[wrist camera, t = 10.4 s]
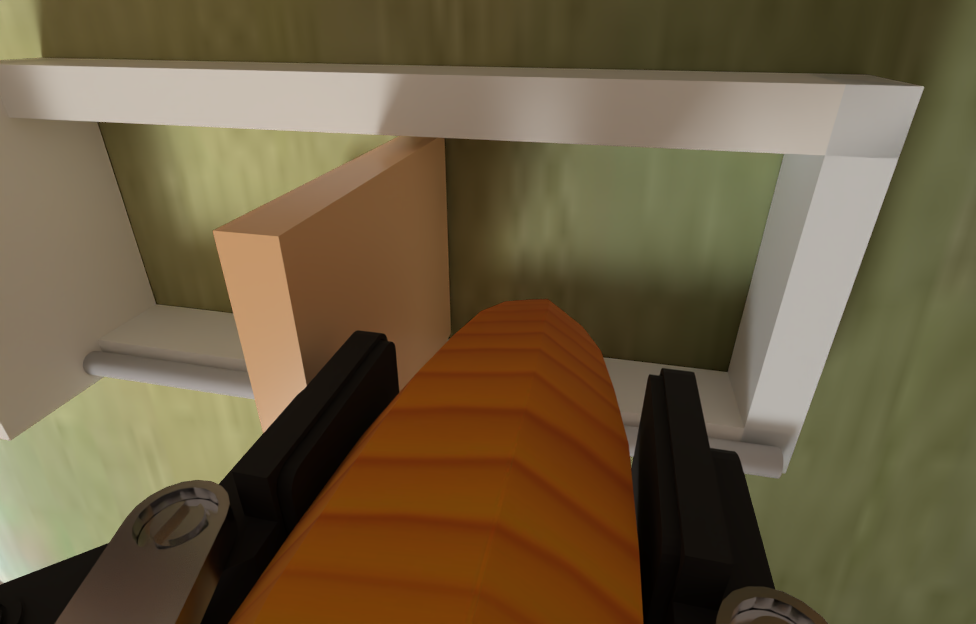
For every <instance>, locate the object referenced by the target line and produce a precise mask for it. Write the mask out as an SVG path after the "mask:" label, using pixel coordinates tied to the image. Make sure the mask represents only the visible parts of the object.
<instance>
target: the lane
mask: <svg viewBox="0 0 976 624" xmlns="http://www.w3.org/2000/svg"><path fill="white" fill-rule="evenodd" d="M923 89H924V86H920V85H915V84H911V83H906V82H901V81H896V80H891V79H887V78H882V77H877V76H872V75H861V74H812V73H763V72H714V71H666V70H617V69H568V68H520V67H471V66H422V65H373V64H325V63H276V62H227V61H178V60H130V59H81V58H27V59H10V60H0V439H4V440H10V441H11V440H12V439H14V438H15V437H16V436H18V435H19V434H21V433H22V432H24V431H25V430H27V429H28V428H30V427H31V426H33V425H34V424H36V423H37V422H38V421H40V420H41V419H43V418H44V417H46V416H47V415H49V414H50V413H52V412H53V411H55V410H56V409H57V408H59V407H60V406H62V405H63V404H65V403H66V402H68V401H69V400H71V399H72V398H74V397H75V396H77V395H78V394H79V393H81V392H82V391H84V390H85V389H87V388H88V387H90V386H91V385H93V384H94V383H96V382H97V381H99V380H100V379H101V378H103V377H110V378H117V379H123V380H130V381H136V382H143V383H150V384H156V385H163V386H170V387H176V388H183V389H189V390H196V391H203V392H209V393H216V394H222V395H229V396H236V397H242V398H249V399H255V398H254V394H253V390H252V386H251V382H250V378H249V374H248V370H247V366H246V362H245V358H244V354H243V350H242V346H241V342H240V338H239V334H238V330H237V326H236V322H235V318H234V314H233V313H226V312H218V311H210V310H201V309H193V308H184V307H176V306H167V305H159V304H156V302H155V299H154V296H153V293H152V290H151V286H150V283H149V280H148V277H147V274H146V271H145V268H144V265H143V262H142V259H141V256H140V253H139V249H138V246H137V243H136V240H135V237H134V234H133V231H132V228H131V225H130V222H129V219H128V215H127V212H126V209H125V206H124V203H123V200H122V197H121V194H120V191H119V188H118V185H117V182H116V178H115V175H114V172H113V169H112V166H111V163H110V160H109V157H108V154H107V151H106V148H105V144H104V141H103V138H102V135H101V132H100V129H99V126H98V123H97V122H115V123H136V124H158V125H180V126H201V127H223V128H244V129H266V130H287V131H309V132H330V133H352V134H373V135H395V136H416V137H438V138H459V139H481V140H502V141H524V142H545V143H567V144H588V145H610V146H631V147H653V148H674V149H696V150H717V151H739V152H760V153H782V154H784V157H783V160H782V164H781V168H780V172H779V176H778V180H777V184H776V187H775V191H774V195H773V199H772V203H771V207H770V211H769V214H768V218H767V222H766V226H765V230H764V234H763V238H762V241H761V245H760V249H759V253H758V257H757V261H756V264H755V268H754V272H753V276H752V280H751V284H750V288H749V291H748V295H747V299H746V303H745V307H744V311H743V315H742V318H741V322H740V326H739V330H738V334H737V338H736V342H735V345H734V349H733V353H732V357H731V361H730V365H729V369H728V372H722V371H714V370H706V369H697V368H689V367H680V366H672V365H664V364H655V363H647V362H638V361H630V360H622V359H613V358H605V357H603V358H604V361H605V364H606V367H607V370H608V373H609V376H610V379H611V381H612V384H613V387H614V390H615V394H616V398H617V402H618V405H619V409H620V413H621V417H622V421H623V424H624V428H625V432H626V436H627V440H628V443H629V452H630V456H632V457H634V452H635V446H636V441H637V435H638V429H639V424H640V418H641V413H642V407H643V402H644V396H645V391H646V385H647V380H648V376H649V374H652V375H660V371H661V369H662V368H667V369H675V370H683V371H691V372H694V373H695V376H696V381H697V386H698V391H699V396H700V401H701V406H702V411H703V415H704V420H705V425H706V430H707V435H708V440H709V445H710V448H715V449H722V450H728V451H735V452H736V453H737V454H738V456H739V458H740V461H741V464H742V468H743V472H744V474H751V475H758V476H764V477H771V478H780V476H781V474H782V473H786V470H787V467H788V465H789V462H790V459H791V456H792V453H793V451H794V448H795V445H796V442H797V439H798V437H799V434H800V431H801V428H802V426H803V423H804V420H805V417H806V414H807V412H808V409H809V406H810V403H811V401H812V398H813V395H814V392H815V389H816V387H817V384H818V381H819V378H820V376H821V373H822V370H823V367H824V364H825V362H826V359H827V356H828V353H829V350H830V348H831V345H832V342H833V339H834V337H835V334H836V331H837V328H838V325H839V323H840V320H841V317H842V314H843V312H844V309H845V306H846V303H847V300H848V298H849V295H850V292H851V289H852V287H853V284H854V281H855V278H856V275H857V273H858V270H859V267H860V264H861V261H862V259H863V256H864V253H865V250H866V248H867V245H868V242H869V239H870V236H871V234H872V231H873V228H874V225H875V223H876V220H877V217H878V214H879V211H880V209H881V206H882V203H883V200H884V198H885V195H886V192H887V189H888V186H889V184H890V181H891V178H892V175H893V172H894V170H895V167H896V164H897V161H898V159H899V156H900V153H901V150H902V147H903V145H904V142H905V139H906V136H907V134H908V131H909V128H910V125H911V122H912V120H913V117H914V114H915V111H916V108H917V106H918V103H919V100H920V97H921V95H922V92H923ZM448 340H449V339H447V341H448ZM447 341H446V342H447Z"/></svg>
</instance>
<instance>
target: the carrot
mask: <svg viewBox="0 0 976 624" xmlns="http://www.w3.org/2000/svg"><path fill="white" fill-rule="evenodd" d="M228 624H643V608H642V592H641V575H640V559H639V546H638V535H637V525H636V514H635V504H634V493H633V483H632V472H631V462H630V452H629V443H628V440H627V436H626V432H625V428H624V424H623V421H622V417H621V413H620V409H619V405H618V402H617V398H616V394H615V390H614V387H613V384H612V381H611V379H610V376H609V373H608V370H607V367H606V364H605V361H604V358H603V355H602V352H601V350H600V349H599V348H598V346H597V345H596V344H595V342H594V341H593V340H592V338H591V337H590V336H589V334H588V333H587V332H586V330H585V329H584V328H583V327H582V326H581V325H580V324H579V323H577V322H576V321H575V320H574V319H572V318H571V317H570V316H569V315H567V314H566V313H565V312H564V311H562V310H561V309H560V308H559V307H557V306H556V305H555V304H554V303H552V302H551V301H550V300H548V299H529V300H516V301H505V302H503V303H500V304H498V305H495V306H493V307H490V308H487V309H485V310H482V311H481V312H479V313H478V314H477V315H476V316H475V317H474V318H473V319H471V320H470V321H469V322H468V323H467V324H466V325H465V326H463V327H462V328H461V329H460V330H459V331H458V332H457V333H455V334H454V335H453V336H452V337H451V338H450V339H449V340H448V341H447V342H446V343H445V344H444V345H443V346H442V347H441V348H440V349H439V350H438V352H437V353H436V354H435V355H434V356H433V357H432V358H431V359H430V360H429V361H428V362H427V363H426V364H425V365H424V366H423V367H422V368H421V369H420V370H419V371H418V372H417V373H416V374H415V375H414V377H413V378H412V379H411V380H410V381H409V382H408V383H407V385H406V386H405V387H404V388H403V389H402V390H401V391H400V393H399V394H398V395H397V396H396V397H395V398H394V399H393V401H392V402H391V403H390V404H389V405H388V406H387V407H386V409H385V410H384V411H383V412H382V413H381V414H380V415H379V416H378V418H377V419H376V420H375V421H374V422H373V423H372V424H371V426H370V427H369V428H368V429H367V430H366V431H365V432H364V434H363V435H362V436H361V437H360V439H359V440H358V441H357V443H356V444H355V446H354V447H353V448H352V450H351V451H350V452H349V454H348V455H347V456H346V458H345V459H344V460H343V462H342V463H341V465H340V466H339V467H338V469H337V470H336V471H335V473H334V474H333V475H332V477H331V478H330V479H329V481H328V482H327V484H326V485H325V486H324V488H323V489H322V490H321V492H320V493H319V494H318V496H317V497H316V499H315V500H314V501H313V503H312V504H311V505H310V507H309V508H308V510H307V511H306V512H305V514H304V515H303V516H302V518H301V519H300V521H299V522H298V523H297V525H296V526H295V527H294V529H293V530H292V532H291V533H290V535H289V536H288V537H287V539H286V540H285V542H284V543H283V545H282V546H281V548H280V549H279V550H278V552H277V553H276V555H275V556H274V558H273V559H272V561H271V562H270V563H269V565H268V566H267V568H266V569H265V571H264V572H263V574H262V575H261V576H260V578H259V579H258V581H257V582H256V584H255V585H254V587H253V588H252V589H251V591H250V592H249V594H248V595H247V597H246V598H245V600H244V601H243V603H242V604H241V605H240V607H239V608H238V610H237V611H236V613H235V614H234V616H233V617H232V618H231V620H230V621H229V623H228Z"/></svg>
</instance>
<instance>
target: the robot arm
mask: <svg viewBox="0 0 976 624" xmlns="http://www.w3.org/2000/svg"><path fill="white" fill-rule="evenodd" d="M398 394H399V381H398V370H397V358H396V348H395V344H394V343H393V342H391V341H388V339H387V337H386V335H385V334H384V333H376V332H368V331H360V330H357V331H355V332H354V333H353V334H352V335H351V336H350V337H349V338H348V339H347V341H346V342H345V343H344V344H343V345H342V346H341V347H340V349H339V350H338V351H337V352H336V353H335V354H334V355H333V357H332V358H331V359H330V360H329V361H328V362H327V363H326V365H325V366H324V367H323V368H322V369H321V370H320V371H319V373H318V374H317V375H316V376H315V377H314V378H313V379H312V381H311V382H310V383H309V384H308V385H307V386H306V387H305V389H304V390H302V391H301V392H300V393H299V394H298V395H297V396H296V397H295V398H294V399H293V400H292V401H291V403H290V404H289V405H288V406H287V407H286V408H285V409H284V411H283V412H282V413H281V414H280V415H279V416H278V417H277V419H276V420H275V421H274V422H273V423H272V424H271V425H270V426H269V428H268V429H267V430H266V431H265V432H264V433H263V434H262V436H261V437H260V438H259V439H258V440H257V441H256V442H255V444H254V445H253V446H252V447H251V448H250V449H249V450H248V452H247V453H246V454H245V455H244V456H243V457H242V458H241V459H240V461H239V462H238V463H237V464H236V465H235V466H234V467H233V469H232V470H231V471H230V472H229V473H228V474H227V475H226V477H225V478H224V479H223V480H222V481H221V482H220V483H219V484H216V483H214V482H212V481H203V480H193V481H186V482H181V483H178V484H174V485H171V486H168V487H166V488H164V489H162V490H160V491H158V492H156V493H154V494H152V495H150V496H149V497H148V498H146V499H145V500H144V501H142V502H141V503H140V504H138V505H137V506H136V507H135V508H134V509H133V511H132V512H131V513H130V514H129V515H128V516H127V517H126V519H125V520H124V522H123V523H122V525H121V526H120V528H119V529H118V531H117V532H116V534H115V535H114V537H113V538H112V539H111V541H110V542H109V543H108V544H105V545H103V546H100V547H97V548H95V549H92V550H89V551H87V552H84V553H82V554H79V555H76V556H74V557H71V558H69V559H66V560H63V561H61V562H58V563H56V564H53V565H50V566H48V567H45V568H43V569H40V570H37V571H35V572H32V573H30V574H27V575H24V576H22V577H19V578H17V579H14V580H11V581H9V582H6V583H4V584H1V585H0V624H228V623H229V621H230V620H231V618H232V617H233V616H234V614H235V613H236V611H237V610H238V608H239V607H240V605H241V604H242V603H243V601H244V600H245V598H246V597H247V595H248V594H249V592H250V591H251V589H252V588H253V587H254V585H255V584H256V582H257V581H258V579H259V578H260V576H261V575H262V574H263V572H264V571H265V569H266V568H267V566H268V565H269V563H270V562H271V561H272V559H273V558H274V556H275V555H276V553H277V552H278V550H279V549H280V548H281V546H282V545H283V543H284V542H285V540H286V539H287V537H288V536H289V535H290V533H291V532H292V530H293V529H294V527H295V526H296V525H297V523H298V522H299V521H300V519H301V518H302V516H303V515H304V514H305V512H306V511H307V510H308V508H309V507H310V505H311V504H312V503H313V501H314V500H315V499H316V497H317V496H318V494H319V493H320V492H321V490H322V489H323V488H324V486H325V485H326V484H327V482H328V481H329V479H330V478H331V477H332V475H333V474H334V473H335V471H336V470H337V469H338V467H339V466H340V465H341V463H342V462H343V460H344V459H345V458H346V456H347V455H348V454H349V452H350V451H351V450H352V448H353V447H354V446H355V444H356V443H357V441H358V440H359V439H360V437H361V436H362V435H363V434H364V432H365V431H366V430H367V429H368V428H369V427H370V426H371V424H372V423H373V422H374V421H375V420H376V419H377V418H378V416H379V415H380V414H381V413H382V412H383V411H384V410H385V409H386V407H387V406H388V405H389V404H390V403H391V402H392V401H393V399H394V398H395V397H396V396H397V395H398ZM631 472H632V483H633V493H634V504H635V514H636V525H637V535H638V546H639V559H640V575H641V592H642V608H643V624H828V623H827V622H826V621H825V619H824V618H823V617H822V616H821V615H820V614H818V613H817V612H816V611H814V610H813V609H812V608H810V607H809V606H808V605H807V604H805V603H804V602H803V601H801V600H799V599H797V598H795V597H793V596H791V595H789V594H787V593H785V592H782V591H779V590H775V587H774V583H773V580H772V576H771V572H770V568H769V565H768V561H767V557H766V554H765V550H764V546H763V542H762V539H761V535H760V531H759V527H758V524H757V520H756V516H755V513H754V509H753V505H752V501H751V498H750V494H749V490H748V486H747V483H746V479H745V475H744V472H743V468H742V464H741V461H740V458H739V456H738V454H737V453H736V452H735V451H728V450H722V449H715V448H710V445H709V440H708V435H707V430H706V425H705V420H704V415H703V411H702V406H701V401H700V396H699V391H698V386H697V381H696V376H695V373H694V372H691V371H683V370H675V369H667V368H662V369H661V371H660V375H652V374H649V376H648V380H647V385H646V391H645V396H644V402H643V407H642V413H641V418H640V424H639V429H638V435H637V441H636V446H635V452H634V457H633V463H632V468H631Z"/></svg>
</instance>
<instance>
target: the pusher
mask: <svg viewBox="0 0 976 624" xmlns="http://www.w3.org/2000/svg"><path fill="white" fill-rule="evenodd" d="M213 234H214V238H215V242H216V246H217V250H218V254H219V258H220V262H221V266H222V270H223V274H224V278H225V282H226V286H227V290H228V294H229V298H230V302H231V306H232V310H233V314H234V318H235V322H236V326H237V330H238V334H239V338H240V342H241V346H242V350H243V354H244V358H245V362H246V366H247V370H248V374H249V378H250V382H251V386H252V390H253V394H254V398H255V402H256V406H257V410H258V414H259V418H260V422H261V426H262V430H263V433H264V432H265V431H266V430H267V429H268V428H269V426H270V425H271V424H272V423H273V422H274V421H275V420H276V419H277V417H278V416H279V415H280V414H281V413H282V412H283V411H284V409H285V408H286V407H287V406H288V405H289V404H290V403H291V401H292V400H293V399H294V398H295V397H296V396H297V395H298V394H299V393H300V392H301V391H302V390H304V389H305V387H306V386H307V385H308V384H309V383H310V382H311V381H312V379H313V378H314V377H315V376H316V375H317V374H318V373H319V371H320V370H321V369H322V368H323V367H324V366H325V365H326V363H327V362H328V361H329V360H330V359H331V358H332V357H333V355H334V354H335V353H336V352H337V351H338V350H339V349H340V347H341V346H342V345H343V344H344V343H345V342H346V341H347V339H348V338H349V337H350V336H351V335H352V334H353V333H354V332H355V331H357V330H360V331H368V332H376V333H384V334H385V335H386V337H387V339H388V341H391V342H393V343H394V344H395V348H396V358H397V370H398V381H399V393H400V391H401V390H402V389H403V388H404V387H405V386H406V385H407V383H408V382H409V381H410V380H411V379H412V378H413V377H414V375H415V374H416V373H417V372H418V371H419V370H420V369H421V368H422V367H423V366H424V365H425V364H426V363H427V362H428V361H429V360H430V359H431V358H432V357H433V356H434V355H435V354H436V353H437V352H438V350H439V349H440V348H441V347H442V346H443V345H444V344H445V343H446V341H447V339H448V337H449V336H450V334H451V318H450V288H449V257H448V227H447V197H446V166H445V138H438V137H416V136H398V137H396V138H395V139H393V140H391V141H389V142H387V143H385V144H383V145H381V146H379V147H377V148H375V149H373V150H371V151H369V152H367V153H365V154H363V155H361V156H359V157H357V158H355V159H353V160H351V161H349V162H347V163H345V164H343V165H341V166H339V167H337V168H335V169H333V170H331V171H329V172H327V173H325V174H323V175H321V176H320V177H318V178H316V179H314V180H312V181H310V182H308V183H306V184H304V185H302V186H300V187H298V188H296V189H294V190H292V191H290V192H288V193H286V194H284V195H282V196H280V197H278V198H276V199H274V200H272V201H270V202H268V203H266V204H264V205H262V206H260V207H258V208H256V209H254V210H252V211H250V212H248V213H246V214H245V215H243V216H241V217H239V218H237V219H235V220H233V221H231V222H229V223H227V224H225V225H223V226H221V227H219V228H217V229H215V230H213Z"/></svg>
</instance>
